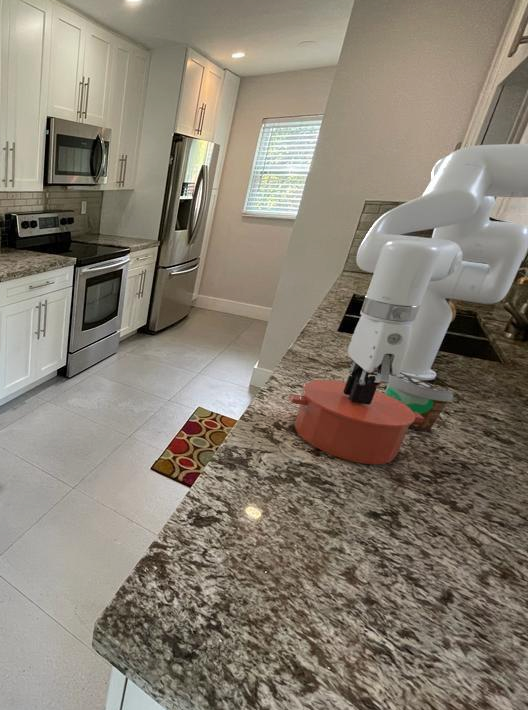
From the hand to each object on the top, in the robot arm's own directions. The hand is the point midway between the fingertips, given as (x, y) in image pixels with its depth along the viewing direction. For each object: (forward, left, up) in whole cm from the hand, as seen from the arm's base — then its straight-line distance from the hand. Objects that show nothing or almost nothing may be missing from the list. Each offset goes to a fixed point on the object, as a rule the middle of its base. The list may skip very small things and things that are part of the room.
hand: (356, 398), depth 81 cm
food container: (-13, +15, -10) cm, 22 cm away
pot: (0, 0, -9) cm, 9 cm away
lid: (0, 0, -1) cm, 1 cm away
